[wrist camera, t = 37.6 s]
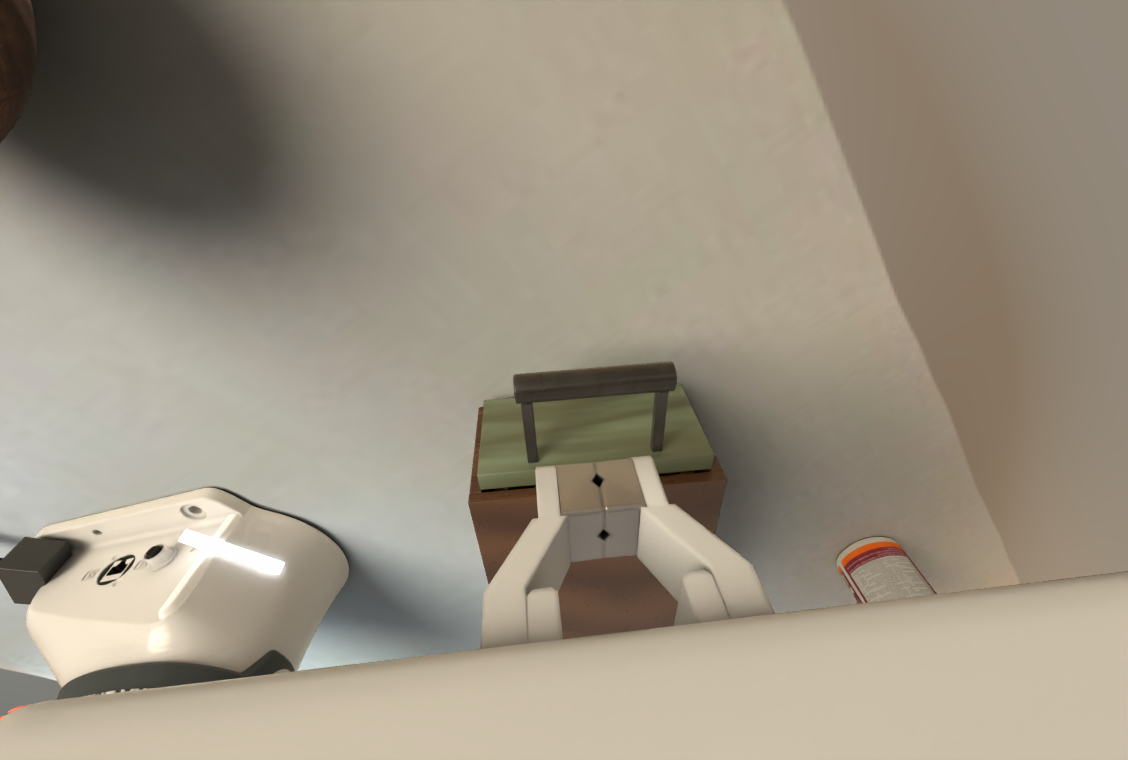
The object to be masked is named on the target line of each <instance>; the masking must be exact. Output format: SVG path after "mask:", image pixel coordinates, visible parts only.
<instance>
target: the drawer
mask: <svg viewBox="0 0 1128 760" xmlns="http://www.w3.org/2000/svg"><path fill="white" fill-rule="evenodd" d="M513 383H514V396H515V398H507V399H495V400H485V401H484V409H483V420H482V430H481V440H480V451H479V461H478V471H477V477H478V482H479V486H480V490H485V489H495V491H505V490H516V489H527V488H533V486H532V485H536V475H535V470H536V467H538V466H552V465H555V468H556V465H560V464H573V463H586V462H594V461H603V460H612V459H622V458H631V457H640V456H649V455H650V456H651V457H652V458H653V461H654V463H655V466H656V469H657V472H658V475H659V476H670V475H681V474H692V473H693V471H694V470H705V469H711V468H712V464H713V459H714V452H713V450H712V448H711V446H710V444H709V442H708V440H707V438H706V436H705V434H704V431H703V429H702V427H701V425H700V423H699V421H698V419H697V417H696V415H695V413H694V411H693V408H692V406H691V404H690V402H689V400H688V398H687V396H686V394H685V392H684V390H683V388H682V386H681V384H677V376H676V369H675V366H674V364H673V362H659V363H647V364H635V365H622V366H610V367H598V368H586V369H574V370H561V371H549V372H537V373H525V374H515V375H514V377H513Z"/></svg>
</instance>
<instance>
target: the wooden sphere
mask: <svg viewBox="0 0 1128 760" xmlns="http://www.w3.org/2000/svg"><path fill="white" fill-rule="evenodd" d="M36 61H37V38H36V26H35V20H34V14H33V8H32V4H31V0H0V143H1V142H2V140H3V139H4V138H5V137H6V136H7V135H8V133H9V132H10V131H11V130H12V128H13V127H14V125H15V124H16V122H17V121H18V119H19V118H20V116H21V114H22V112H23V110H24V108H25V106H26V104H27V101H28V98H29V95H30V92H31V89H32V85H33V81H34V76H35V70H36Z"/></svg>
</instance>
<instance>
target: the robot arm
mask: <svg viewBox="0 0 1128 760" xmlns="http://www.w3.org/2000/svg"><path fill="white" fill-rule="evenodd" d="M535 475H536V491H537V507H538V518H535V519H532V520H531V522H530V523H529V525H528V526H527V528H526V529H525V531H524V532H523V534H522V535H521V537H520V538H519V540H518V542H517V543H516V545H515V546H514V548H513V549H512V551H511V552H510V554H509V555H508V557H507V558H506V560H505V561H504V563H503V564H502V566H501V567H500V569H499V570H498V572H497V573H496V575H495V576H494V578H493V579H492V581H491V582H490V584H489V585H488V587H487V588H486V590H485V591H484V593H483V611H482V630H481V649H477V650H469V651H460V652H452V653H444V654H435V655H427V656H419V657H410V658H402V659H394V660H385V661H377V662H369V663H360V664H352V665H344V666H335V667H327V668H319V669H311V670H302V671H297V670H298V668H299V666H300V663H301V661H302V659H303V657H304V655H305V652H306V650H307V648H308V646H309V644H310V642H311V640H312V638H313V636H314V634H315V632H316V630H317V628H318V626H319V625H320V623H321V621H322V619H323V617H324V615H325V614H326V612H327V610H328V609H329V607H330V605H331V604H332V602H333V600H334V599H335V597H336V596H337V594H338V593H339V591H340V590H341V589H342V587H343V586H344V585H345V583H346V581H347V579H348V575H349V565H348V561H347V559H346V557H345V555H344V553H343V552H342V550H341V549H340V548H339V547H338V545H337V544H336V543H335V542H334V541H332V540H331V539H330V538H329V537H328V536H326V535H325V534H323V533H322V532H320V531H319V530H317V529H316V528H314V527H312V526H310V525H308V524H306V523H304V522H301V521H299V520H297V519H294V518H291V517H288V516H285V515H282V514H278V513H275V512H271V511H267V510H264V509H260V508H257V507H254V506H252V505H250V504H248V503H246V502H245V501H243V500H241V499H239V498H237V497H235V496H233V495H231V494H229V493H227V492H225V491H222V490H220V489H216V488H201V489H197V490H193V491H189V492H185V493H181V494H176V495H172V496H168V497H164V498H160V499H156V500H152V501H147V502H143V503H139V504H135V505H131V506H127V507H122V508H118V509H114V510H110V511H106V512H102V513H98V514H93V515H89V516H85V517H81V518H77V519H73V520H69V521H64V522H60V523H56V524H52V525H49V526H46V527H43V528H42V529H41V530H40V532H39V533H38V534H37V536H36V537H35V538H29V537H25V538H23V539H22V540H21V541H20V542H19V543H18V544H17V545H16V546H15V547H14V548H13V549H12V550H11V551H10V552H9V553H8V554H7V555H6V556H5V557H4V558H0V580H1V581H2V583H3V585H4V586H5V588H6V590H7V591H8V593H9V595H10V596H11V598H12V600H13V602H14V603H18V604H30V606H29V608H28V611H27V616H26V625H27V630H28V632H29V635H30V636H31V638H32V640H33V641H34V643H35V644H36V646H37V648H38V649H39V651H40V652H41V654H42V656H43V657H44V659H45V661H46V662H47V664H48V666H49V667H50V669H51V671H52V672H53V674H54V676H55V677H56V679H57V681H58V683H59V684H60V686H61V690H60V693H59V695H58V698H57V700H52V701H46V702H41V703H35V704H31V705H23V706H19V707H16V708H14V709H12V710H10V711H8V713H10V714H8V715H6V716H1V717H0V760H1128V571H1125V572H1117V573H1109V574H1100V575H1092V576H1085V577H1076V578H1068V579H1059V580H1051V581H1042V582H1034V583H1026V584H1017V585H1009V586H1001V587H992V588H984V589H976V590H968V591H959V592H951V593H943V594H935V595H926V596H918V597H910V598H902V599H893V600H885V601H877V602H868V603H860V604H852V605H844V606H835V607H827V608H819V609H810V610H802V611H794V612H785V613H777V614H775V612H774V610H773V608H772V606H771V604H770V602H769V599H768V597H767V595H766V593H765V591H764V589H763V587H762V585H761V583H760V580H759V578H758V576H757V574H756V572H755V570H754V568H753V566H752V564H751V563H750V562H749V561H748V560H747V559H745V558H744V557H743V556H741V555H740V554H739V553H738V552H736V551H735V550H734V549H732V548H731V547H730V546H729V545H727V544H726V543H725V542H723V541H722V540H721V539H720V538H718V537H717V536H716V535H714V534H713V533H712V532H711V531H709V530H708V529H707V528H705V527H704V526H703V525H702V524H700V523H699V522H698V521H696V520H695V519H694V518H693V517H691V516H690V515H689V514H687V513H686V512H685V511H684V510H682V509H681V508H680V507H678V506H677V505H676V504H669V502H668V499H667V497H666V494H665V491H664V488H663V486H662V483H661V480H660V477H659V475H658V472H657V469H656V466H655V463H654V461H653V458H652V457H651V456H650V455H649V456H640V457H631V458H622V459H612V460H603V461H594V462H586V463H573V464H560V465H556V468H555V465H552V466H538V467H536V470H535ZM633 555H637V557H638V559H639V560H640V561H641V562H642V563H643V564H644V565H645V566H646V567H647V568H648V570H649V571H650V572H651V573H652V574H653V575H654V576H655V577H656V578H657V580H658V581H659V582H660V583H661V584H662V585H663V586H664V587H665V588H666V589H667V591H668V592H669V593H670V594H671V595H672V596H673V597H674V598H675V599H676V600H677V602H678V606H677V611H676V616H675V621H674V626H669V627H661V628H652V629H644V630H636V631H627V632H619V633H610V634H602V635H594V636H585V637H577V638H569V639H563V635H562V625H561V615H560V605H559V595H558V591H559V589H560V587H561V584H562V582H563V580H564V578H565V576H566V574H567V571H568V569H569V567H570V565H571V564H570V563H571V562H578V561H585V560H592V559H600V558H609V557H621V556H633Z"/></svg>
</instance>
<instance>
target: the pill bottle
mask: <svg viewBox="0 0 1128 760" xmlns="http://www.w3.org/2000/svg"><path fill="white" fill-rule="evenodd" d="M836 565H837V568H838V570H839V572H840V574H841V576H842V577H843V579H844V581H845V582H846V584H847V585H848V587H849V589H850V590H851V592H852V594H853V595H854V597H855V598H856V600H857V602H858V604H860V603H868V602H877V601H885V600H893V599H902V598H910V597H918V596H926V595H935V594H937V593H936V592H935V591H934V590H933V588H932V587H931V586H930V584H929V583H928V582H927V581H926V579H925V578H924V576H923V575H922V574H921V573H920V571H919V570H918V569H917V567H916V566H915V565H914V563H913V562H912V561H911V559H910V558H909V557H908V556H907V554H906V553H905V552H904V550H903V549H902V548H901V546H900V545H899V544H898V543H897V542H896V541H894V540H893V539H890V538H886V537H871V538H866V539H862V540H860V541H857V542H855V543H853V544H852V545H850V546H849V547H847V548H846V549H845V550H844V551H843V552H842V553H841V554H840V555H839V557H838V559H837V563H836Z"/></svg>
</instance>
